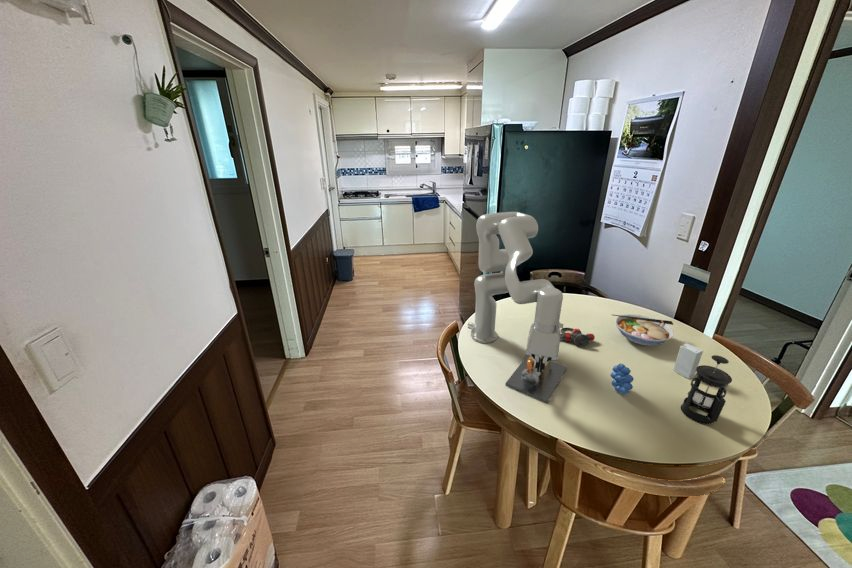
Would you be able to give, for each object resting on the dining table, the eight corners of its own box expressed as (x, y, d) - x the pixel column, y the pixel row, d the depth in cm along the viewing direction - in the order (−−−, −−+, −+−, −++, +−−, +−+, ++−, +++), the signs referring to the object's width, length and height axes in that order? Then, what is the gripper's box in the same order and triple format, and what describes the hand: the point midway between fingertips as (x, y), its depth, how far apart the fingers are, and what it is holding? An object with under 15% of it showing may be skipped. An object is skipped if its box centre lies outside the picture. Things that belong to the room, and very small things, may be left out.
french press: (673, 401, 118) (693, 347, 109) (700, 402, 118) (723, 348, 108) (695, 428, 108) (719, 371, 98) (725, 429, 107) (753, 372, 98)
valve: (588, 335, 162) (597, 349, 148) (532, 332, 167) (536, 346, 153) (589, 323, 160) (598, 335, 146) (533, 321, 165) (537, 333, 151)
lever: (537, 352, 129) (539, 341, 127) (545, 354, 128) (546, 344, 126) (524, 372, 118) (525, 361, 116) (532, 375, 117) (533, 364, 115)
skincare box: (694, 376, 130) (704, 350, 125) (688, 379, 129) (698, 353, 124) (678, 367, 136) (687, 342, 131) (671, 370, 134) (680, 345, 129)
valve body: (505, 385, 127) (507, 364, 123) (528, 354, 145) (531, 335, 141) (546, 403, 118) (550, 381, 114) (566, 368, 136) (570, 348, 132)
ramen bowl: (611, 347, 149) (615, 332, 145) (607, 323, 168) (610, 309, 165) (678, 360, 140) (684, 343, 137) (665, 332, 159) (670, 317, 156)
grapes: (638, 403, 118) (647, 376, 113) (619, 403, 118) (626, 376, 113) (622, 381, 128) (629, 355, 124) (604, 381, 129) (610, 355, 124)
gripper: (570, 322, 109) (562, 368, 116) (523, 315, 114) (518, 359, 121) (570, 334, 103) (562, 381, 110) (521, 326, 108) (516, 372, 115)
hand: (539, 370), depth 116 cm, fingers closed
